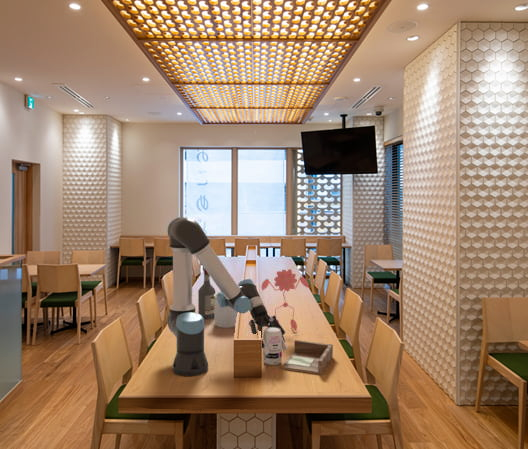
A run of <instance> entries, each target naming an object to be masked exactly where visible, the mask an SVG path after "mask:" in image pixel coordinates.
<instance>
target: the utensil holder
mask: <svg viewBox="0 0 528 449" xmlns="http://www.w3.org/2000/svg"><path fill="white" fill-rule="evenodd" d="M217 294H218V292H215V294H214V317H213V318H214V326H215V327H218V328H222V329H223V328H225V329H228V328H234V327H236V326H235V323H236V317H237V313H238V312H236V311H235V310H234V309H232V308H231V307H229V306H227V307H223V308H222V307H220V306H219V304H218V300H217Z"/></svg>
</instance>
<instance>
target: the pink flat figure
mask: <svg viewBox="0 0 528 449" xmlns="http://www.w3.org/2000/svg"><path fill="white" fill-rule="evenodd" d="M296 276H297V275H296V273H293V271H292V269H291V268H290V269H289V268H288V269H287V270H286V269H282V270H279V271H276V276H275V278H274V281H275V283H274V284H272V283H271V281H270V280H269V279H268V278H267V279H264V280H263V281H262V283H261V290H262V291H264V290H266V289H267V288H268V287H269V285H270V286H271V287H272V288H273V290H274V291H280V292H283V293H282V296H283V301H284V302H283V303H282V305H280V306H278V307H275V308H274V313H275V315H274V316H275V317H277V312H276V310H277V309H279V308H281V307H284V308H288V307H289V308H291V309H292V311H293V312H292V319H290V322H289V323H290V326H291V328H290V329H293V330H294V331H295V332H297V330H298V329H297V328H298V325H297V322H296V320H295V319H294V317H295V316H294V315H295V308H294V307H293V306H290V305H289V304H288V303H287V302H286V297H285V292H289V291H290V290H296V289H297V288H298V285H299V283H301V284H302V286H304V287H306V288H310V285H309V281H308V280H307V279H306V278H305V277H303V276H299V278H298V279H297V278H296ZM295 284H296V285H295ZM274 286H275V287H278V288H277V289H276V288H275V287H274ZM276 320H277V321H278V323H279V324H280V322H279V320H278V319H277V318H276Z"/></svg>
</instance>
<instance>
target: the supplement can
mask: <svg viewBox="0 0 528 449" xmlns="http://www.w3.org/2000/svg"><path fill="white" fill-rule="evenodd" d="M263 339H264V340H265V342H266V345H267V347H268V349H269V351H270V353H269V354H268V355H265V352H264V350H263V349H262V350H263V352H262V353H263V356H262V358H263V359H262V360H263V363H264V364H266V365H269V366H277V365H279V363H280V364H281V363H282V357H283V355H282V354H283V351H282V350H283V349H282V332H281V330H280V329H279V328H276V327H269V328H268V327H265V328H264V330H263Z"/></svg>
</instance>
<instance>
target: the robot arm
mask: <svg viewBox="0 0 528 449" xmlns="http://www.w3.org/2000/svg"><path fill="white" fill-rule="evenodd" d="M167 235H168V237H169V249H171V251H172V304H171V305H170V306H169V313H168V317H167V322H166V323H167V326H168V329H169V331H170V332H171V333H172V335H174V336H175V338H176V354H175V355H174V356H175V357H174V359H173V360H174V361H173V364H172V373H174V374H175V375H177V376H180V377H195V376H200V375H203V374H206V372H208V371H209V362H208V358H207V356H206V353H205V319H204V318H203V317H202V316H201V315H200V314H198V313H197V312H196V305H195V304H194V303H193V255H194V256H195V257H196V258H197V259H198V261H199V263H200V264H201V266H202V267H203V269H204V268H205V270H206V271H207V272H208V274H209V275H210V278H211V279H212V281H213V282H214V283H215V285H216V286H217V288H218V289H219V290H220V291H218V292H217V293H218V294H217V300H218V304H219V306H220V307H222V308H223V307H227V306H229V307H231V308H232V309H234V310H235V311H236V312H239V314H246V313H247V312H250V316H251V318H252V319H250V321H248V324H249V326H250V331H251V334H252V333H253V334H256V333H257V334H258V330H259V331H261V338H262V348H261V349H262V350H264V352H265V355H268V354H269V353H270V351H269V349H268V347H267V345H266V342H265V340H264V338H263V328H269V327H276V328H279V329H280V330H281V332H282V350H283V351H282V352H285V351H286V350H287V349H288V346H287V344H286V339H285V334H286V331H285V330H284V328H283V327H282V325H281V324H280V322H279V323H278V321H279V320H278V319H277V316H275V315H273V316H270V315H269V314H268V310H267V308H266V306H265V304H264V302H263V300H262V298H261V296H260V293H259V291H258V290H257V286H256V284H255V283H254V281H253V279H251V278H245V279H242V280H241V281H239V282H238V284H237V282H236V281H235V280H234V278H233V277H232V275H231V273H229V271H228V269H227V268H226V266H225V265H224V264H223V262H222V261H221V259H220V257H219V256H218V255H217V253H216V251H214V249H213V248H212V246H211V240H210V238H208V236H207V235H206V233H205V230H204V229H203V228H202V226H201V225H200V224H199V223H198V221H196V220H195V219H192V218H188V217H183V216H182V217H181V216H180V217H176V218H174V219H172V220H171V221H170V223H169V224H168V226H167ZM276 319H277V320H278V321H277V320H276ZM256 325H257V327H256Z"/></svg>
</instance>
